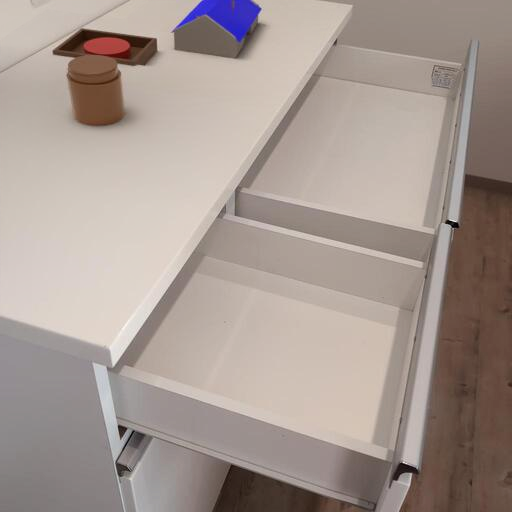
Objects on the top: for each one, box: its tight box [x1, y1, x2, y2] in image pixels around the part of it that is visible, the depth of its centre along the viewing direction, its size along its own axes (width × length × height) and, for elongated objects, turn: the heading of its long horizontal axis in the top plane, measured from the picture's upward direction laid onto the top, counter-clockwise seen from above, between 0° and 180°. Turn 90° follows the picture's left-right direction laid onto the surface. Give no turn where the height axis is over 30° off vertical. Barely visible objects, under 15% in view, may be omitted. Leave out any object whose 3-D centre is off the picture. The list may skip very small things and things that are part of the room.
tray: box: [51, 27, 158, 67], centre depth 102 cm, size 15×12×2 cm
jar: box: [66, 55, 126, 127], centre depth 80 cm, size 8×8×10 cm
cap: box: [84, 37, 131, 59], centre depth 102 cm, size 8×8×2 cm
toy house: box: [170, 0, 263, 59], centre depth 113 cm, size 22×14×7 cm, turn 168°
